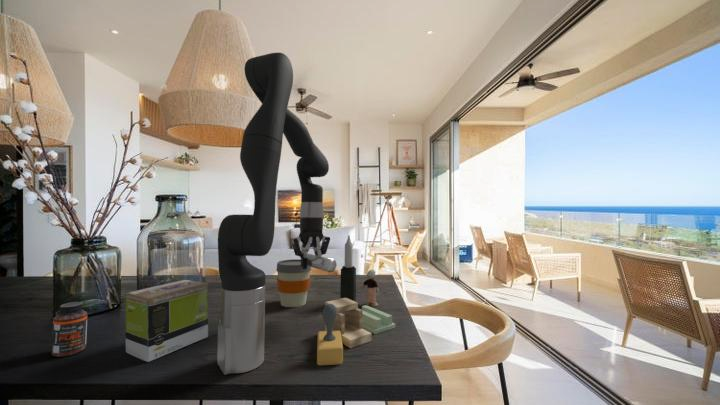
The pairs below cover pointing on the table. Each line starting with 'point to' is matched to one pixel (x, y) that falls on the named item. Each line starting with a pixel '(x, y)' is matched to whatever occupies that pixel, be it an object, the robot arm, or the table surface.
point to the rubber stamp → (329, 340)
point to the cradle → (376, 320)
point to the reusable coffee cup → (292, 282)
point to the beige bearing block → (349, 323)
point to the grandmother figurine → (371, 288)
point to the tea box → (165, 318)
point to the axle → (321, 263)
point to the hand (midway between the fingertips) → (310, 268)
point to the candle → (348, 274)
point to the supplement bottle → (69, 330)
